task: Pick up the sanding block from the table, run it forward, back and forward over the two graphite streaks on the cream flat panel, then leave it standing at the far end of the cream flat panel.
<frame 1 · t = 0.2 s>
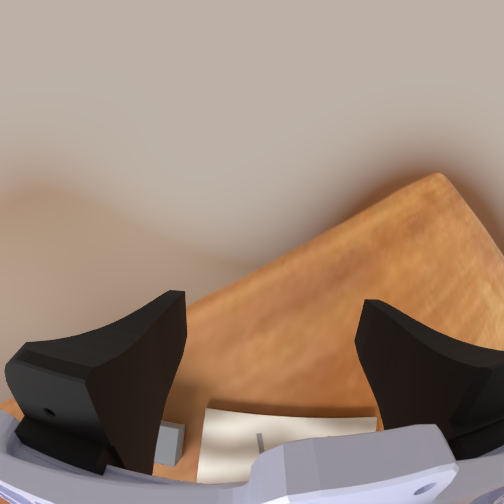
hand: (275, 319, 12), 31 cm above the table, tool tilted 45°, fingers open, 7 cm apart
cream flat panel: (290, 453, 34), on the table
sanding block: (151, 434, 34), on the table
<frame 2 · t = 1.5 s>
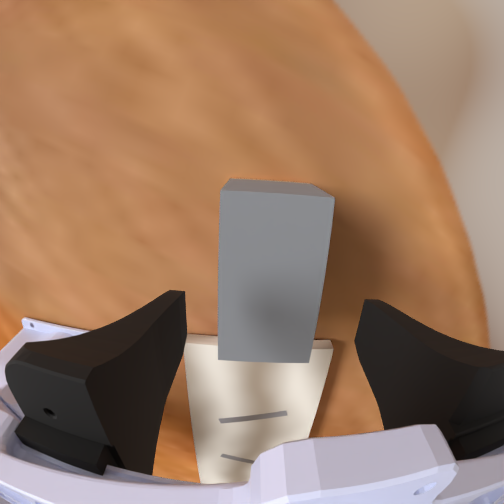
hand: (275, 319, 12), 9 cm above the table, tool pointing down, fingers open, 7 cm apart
cream flat panel: (250, 432, 26), on the table
sanding block: (266, 248, 20), on the table
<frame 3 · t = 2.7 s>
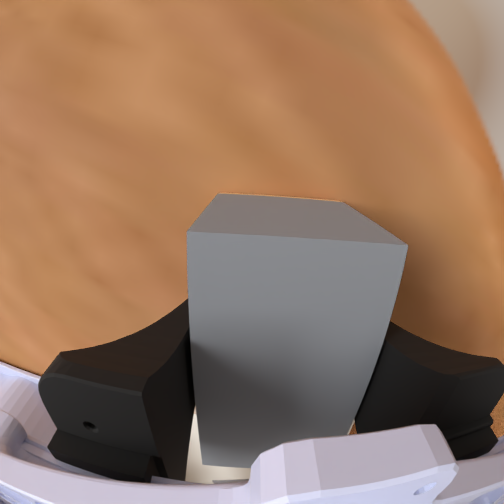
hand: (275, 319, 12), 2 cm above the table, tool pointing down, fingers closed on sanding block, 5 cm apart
cream flat panel: (250, 488, 20), on the table
sanding block: (272, 297, 13), on the table, touching gripper
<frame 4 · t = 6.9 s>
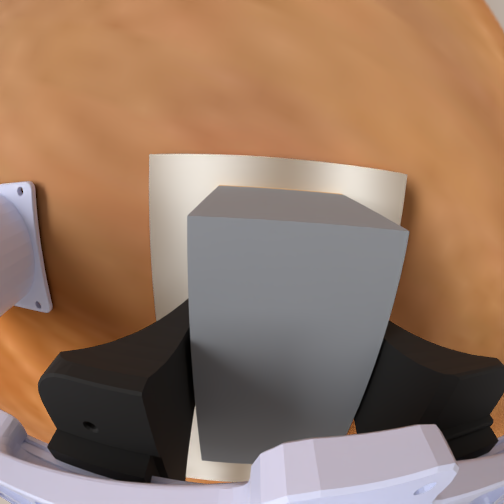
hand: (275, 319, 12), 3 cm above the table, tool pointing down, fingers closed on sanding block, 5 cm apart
cream flat panel: (262, 376, 17), on the table
sanding block: (273, 290, 13), point 1 cm above the table, touching gripper
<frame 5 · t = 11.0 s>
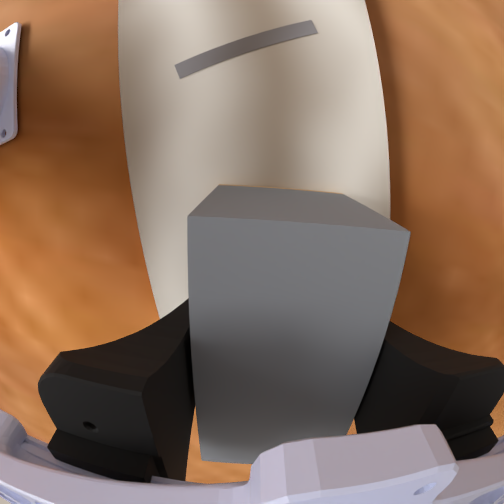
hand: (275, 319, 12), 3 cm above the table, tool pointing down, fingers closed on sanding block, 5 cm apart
cream flat panel: (256, 137, 12), on the table
sanding block: (273, 290, 13), point 1 cm above the table, touching gripper
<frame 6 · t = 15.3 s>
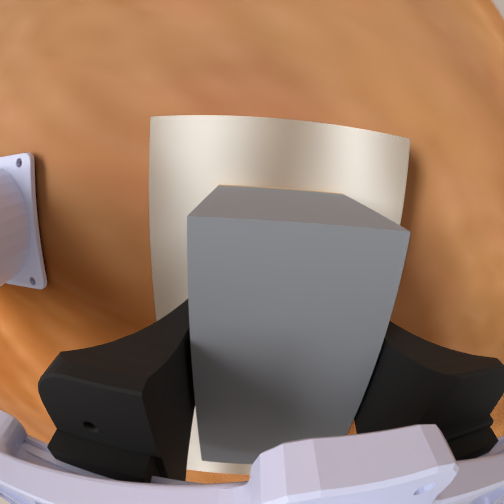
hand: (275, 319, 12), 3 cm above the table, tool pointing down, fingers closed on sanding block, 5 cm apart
cream flat panel: (264, 355, 16), on the table
sanding block: (273, 290, 13), point 1 cm above the table, touching gripper
when the fingers open (3 cm above the table, at t = 19.3 s): sanding block stays where it is, resting on cream flat panel.
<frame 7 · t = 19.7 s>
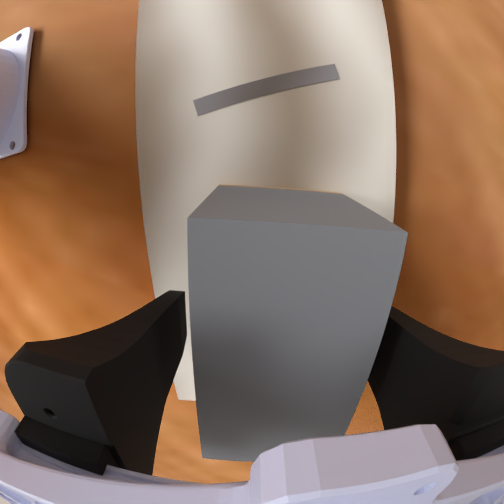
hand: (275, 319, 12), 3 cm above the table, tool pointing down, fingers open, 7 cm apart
cream flat panel: (269, 179, 13), on the table
sanding block: (273, 289, 13), point 1 cm above the table, touching cream flat panel
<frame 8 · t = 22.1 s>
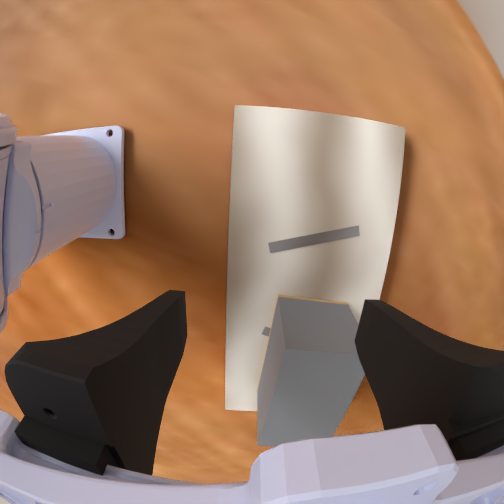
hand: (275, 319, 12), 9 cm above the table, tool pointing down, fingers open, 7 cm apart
cream flat panel: (305, 287, 22), on the table
sanding block: (299, 350, 22), point 1 cm above the table, touching cream flat panel
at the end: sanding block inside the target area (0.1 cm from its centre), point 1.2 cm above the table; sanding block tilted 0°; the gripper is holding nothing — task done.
